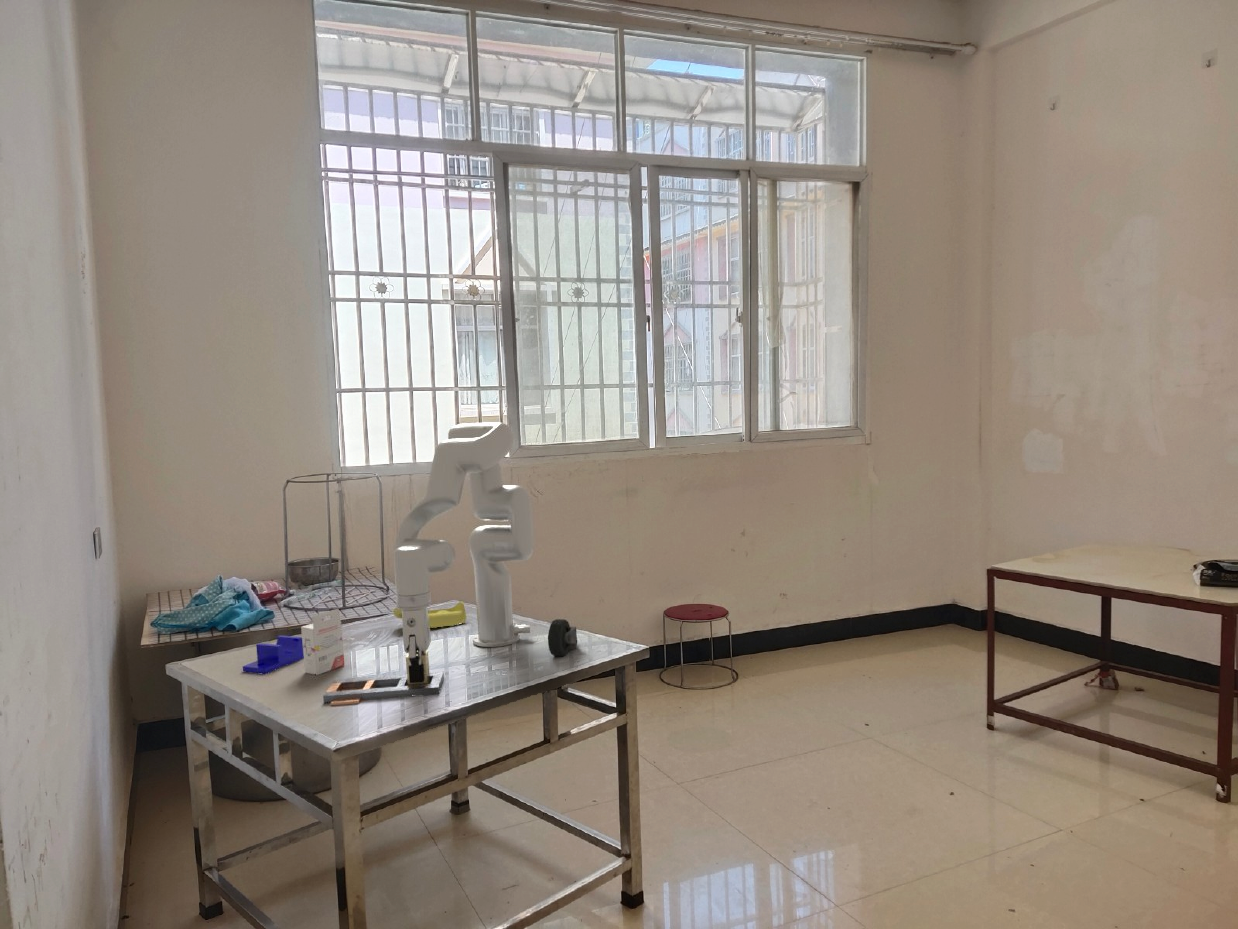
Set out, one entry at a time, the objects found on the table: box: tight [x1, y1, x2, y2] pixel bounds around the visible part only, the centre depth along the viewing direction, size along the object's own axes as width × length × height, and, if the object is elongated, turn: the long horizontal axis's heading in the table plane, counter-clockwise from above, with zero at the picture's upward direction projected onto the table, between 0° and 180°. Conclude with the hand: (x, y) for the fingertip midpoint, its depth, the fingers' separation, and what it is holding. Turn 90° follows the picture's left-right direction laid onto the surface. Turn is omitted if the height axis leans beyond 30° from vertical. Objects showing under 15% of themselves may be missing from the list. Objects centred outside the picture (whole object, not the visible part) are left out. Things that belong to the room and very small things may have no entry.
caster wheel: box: [547, 618, 578, 657], centre depth 215 cm, size 6×10×15 cm
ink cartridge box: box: [300, 608, 345, 676], centre depth 209 cm, size 9×5×15 cm, turn 148°
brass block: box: [405, 649, 431, 686], centre depth 192 cm, size 4×4×8 cm
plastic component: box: [392, 601, 467, 629], centre depth 247 cm, size 20×7×10 cm
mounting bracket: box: [242, 634, 304, 675], centre depth 217 cm, size 18×7×6 cm, turn 158°
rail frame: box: [322, 671, 445, 706], centre depth 190 cm, size 25×13×2 cm, turn 96°
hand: (418, 677), depth 192 cm, fingers closed on brass block, 4 cm apart
